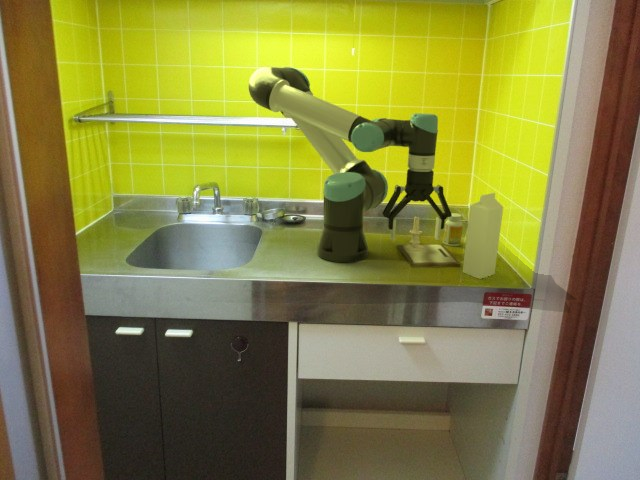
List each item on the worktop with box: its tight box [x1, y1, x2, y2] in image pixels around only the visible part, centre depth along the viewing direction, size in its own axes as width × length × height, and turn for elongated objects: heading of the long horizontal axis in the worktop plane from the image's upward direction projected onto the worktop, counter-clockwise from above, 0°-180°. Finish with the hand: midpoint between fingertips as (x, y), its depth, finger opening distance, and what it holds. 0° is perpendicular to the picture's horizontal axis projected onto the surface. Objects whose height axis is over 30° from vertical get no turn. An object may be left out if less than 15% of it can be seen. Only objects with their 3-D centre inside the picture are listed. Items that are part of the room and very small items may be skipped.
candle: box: [406, 216, 423, 251], centre depth 148 cm, size 5×5×10 cm
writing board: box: [397, 243, 462, 268], centre depth 146 cm, size 14×17×1 cm
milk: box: [462, 192, 504, 280], centre depth 130 cm, size 6×6×22 cm
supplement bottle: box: [442, 212, 464, 247], centre depth 156 cm, size 5×5×10 cm
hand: (414, 239), depth 149 cm, fingers open, 13 cm apart
